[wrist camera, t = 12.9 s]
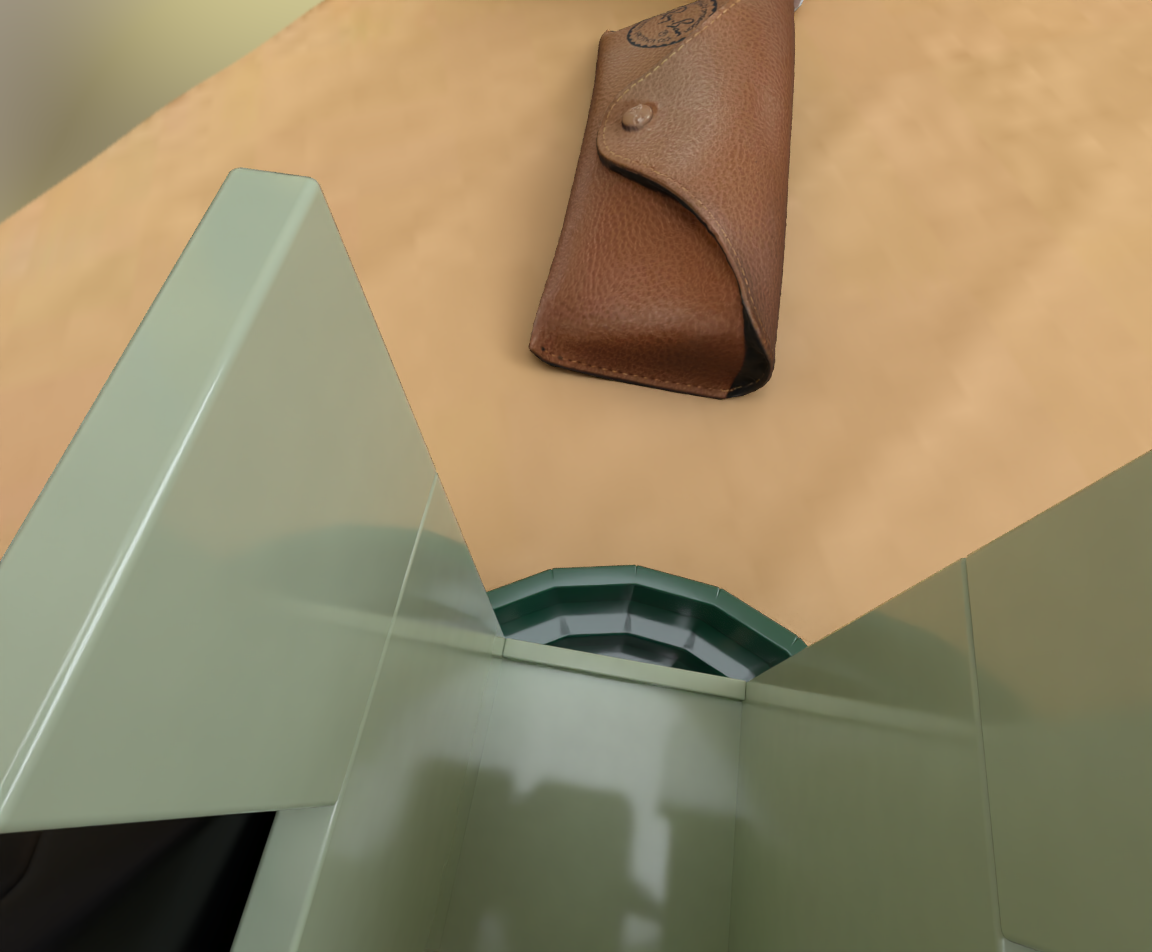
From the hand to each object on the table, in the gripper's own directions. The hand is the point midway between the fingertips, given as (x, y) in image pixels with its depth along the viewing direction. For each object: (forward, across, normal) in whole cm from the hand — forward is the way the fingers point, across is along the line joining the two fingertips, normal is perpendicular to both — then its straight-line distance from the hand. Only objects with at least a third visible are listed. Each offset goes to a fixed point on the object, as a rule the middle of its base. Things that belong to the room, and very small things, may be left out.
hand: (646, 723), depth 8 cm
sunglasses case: (+22, 0, -8) cm, 23 cm away
